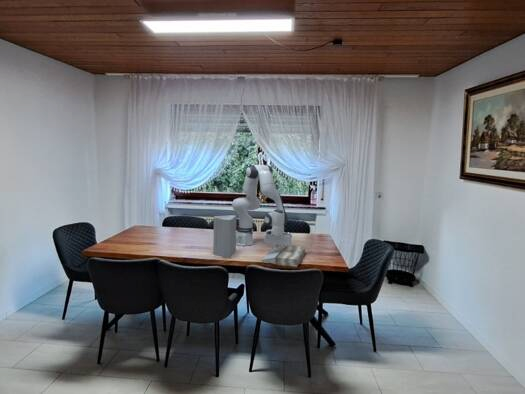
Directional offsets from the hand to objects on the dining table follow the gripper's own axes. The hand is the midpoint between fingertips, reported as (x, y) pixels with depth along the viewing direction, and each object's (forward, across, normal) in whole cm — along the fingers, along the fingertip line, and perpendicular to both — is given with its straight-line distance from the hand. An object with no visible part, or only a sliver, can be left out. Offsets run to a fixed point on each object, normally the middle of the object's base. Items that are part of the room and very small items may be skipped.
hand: (277, 250), depth 268 cm
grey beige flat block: (+5, -11, 0) cm, 12 cm away
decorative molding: (+6, +2, -1) cm, 6 cm away
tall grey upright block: (+5, +40, +6) cm, 41 cm away
